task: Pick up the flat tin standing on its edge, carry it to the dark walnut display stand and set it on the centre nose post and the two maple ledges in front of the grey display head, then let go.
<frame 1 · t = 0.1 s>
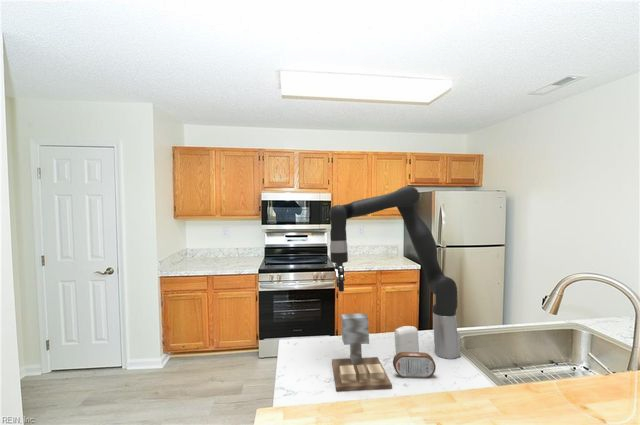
hand: (340, 289, 117), 29 cm above the counter, tool pointing down, fingers open, 8 cm apart
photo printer: (407, 356, 116), on the counter
display stand: (361, 382, 97), on the counter
tin: (414, 377, 100), on the counter
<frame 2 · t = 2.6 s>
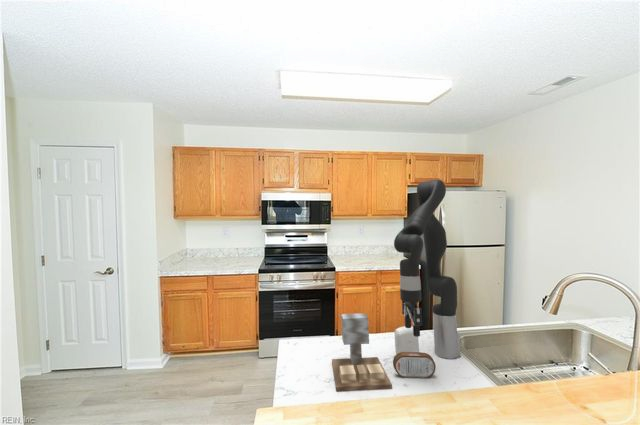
hand: (412, 331, 101), 16 cm above the counter, tool pointing down, fingers open, 8 cm apart
nothing on the counter moved.
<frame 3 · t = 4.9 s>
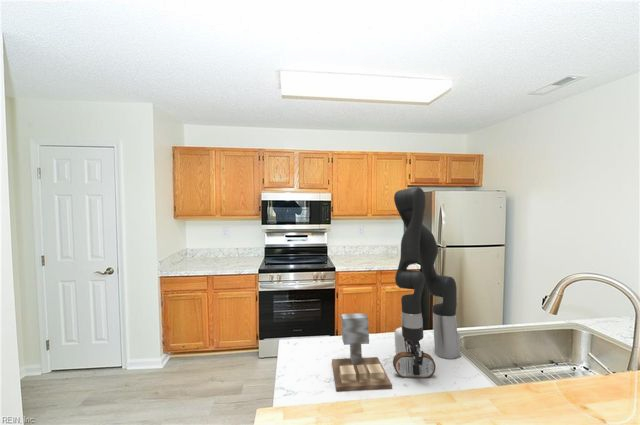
hand: (414, 371, 100), 2 cm above the counter, tool pointing down, fingers open, 3 cm apart
tin: (414, 377, 100), on the counter, touching gripper
everything else where it was.
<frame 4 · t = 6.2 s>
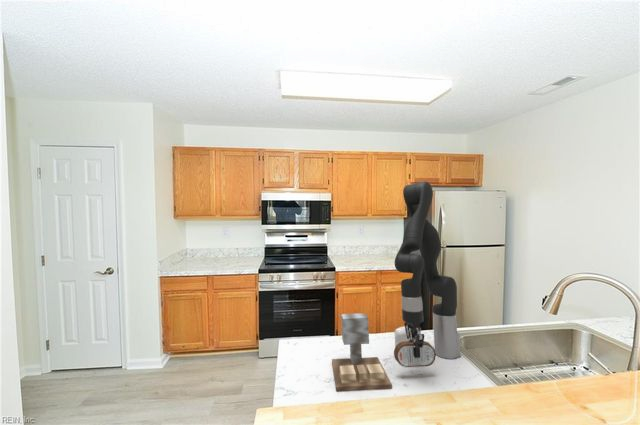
hand: (415, 355, 100), 8 cm above the counter, tool pointing down, fingers closed on tin, 2 cm apart
tin: (416, 366, 100), point 4 cm above the counter, touching gripper
everything else where it was.
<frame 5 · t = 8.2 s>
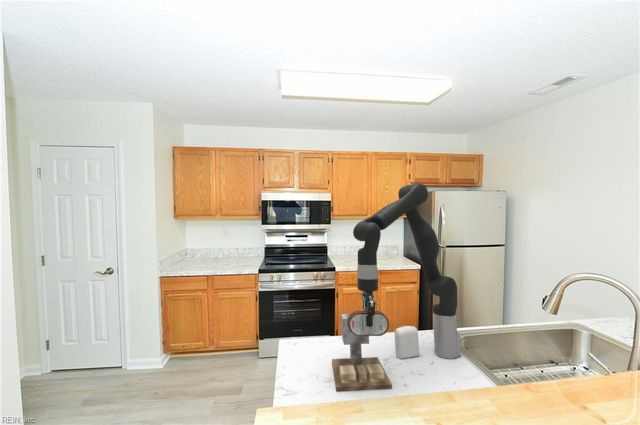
hand: (368, 324, 99), 20 cm above the counter, tool pointing down, fingers closed on tin, 2 cm apart
tin: (368, 336, 98), point 16 cm above the counter, touching gripper
everything else where it was.
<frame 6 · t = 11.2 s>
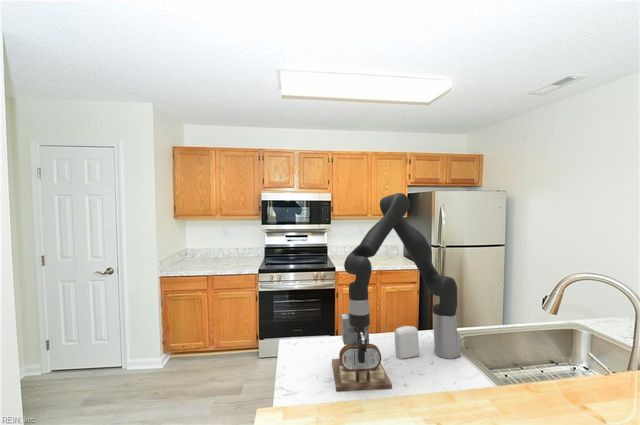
hand: (360, 360, 98), 8 cm above the counter, tool pointing down, fingers closed on tin, 2 cm apart
tin: (361, 370, 97), point 4 cm above the counter, touching display stand, gripper
everything else where it was.
when the fingers open (8 cm above the counter, at t = 11.4 s): tin stays where it is, resting on display stand.
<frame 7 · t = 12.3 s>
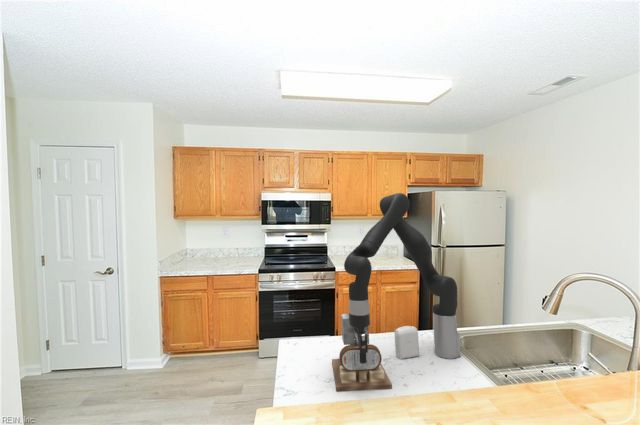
hand: (360, 357, 98), 9 cm above the counter, tool pointing down, fingers open, 8 cm apart
tin: (361, 370, 97), point 4 cm above the counter, touching display stand
everything else where it was.
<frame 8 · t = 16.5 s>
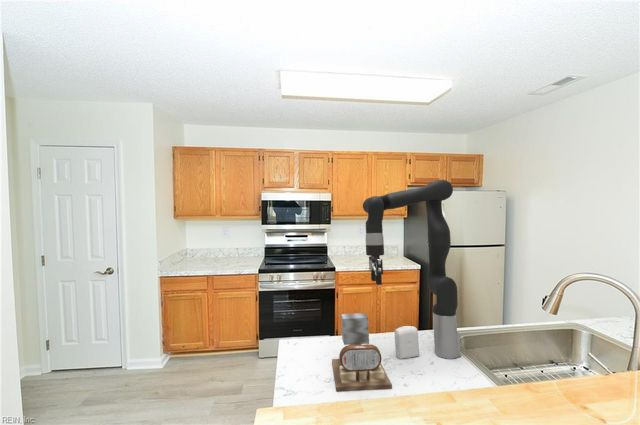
hand: (376, 282, 114), 32 cm above the counter, tool pointing down, fingers open, 8 cm apart
nothing on the counter moved.
at the end: tin 0.5 cm off-centre on the display stand, point 4.3 cm above the display stand's base; tin tilted 0°; the gripper is holding nothing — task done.
